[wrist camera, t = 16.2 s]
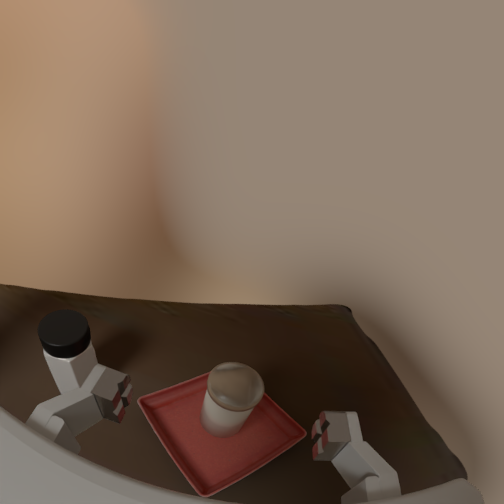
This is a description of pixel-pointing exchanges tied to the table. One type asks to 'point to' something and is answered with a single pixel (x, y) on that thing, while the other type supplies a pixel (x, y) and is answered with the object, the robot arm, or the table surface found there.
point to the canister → (230, 398)
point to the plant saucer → (213, 448)
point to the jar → (67, 348)
